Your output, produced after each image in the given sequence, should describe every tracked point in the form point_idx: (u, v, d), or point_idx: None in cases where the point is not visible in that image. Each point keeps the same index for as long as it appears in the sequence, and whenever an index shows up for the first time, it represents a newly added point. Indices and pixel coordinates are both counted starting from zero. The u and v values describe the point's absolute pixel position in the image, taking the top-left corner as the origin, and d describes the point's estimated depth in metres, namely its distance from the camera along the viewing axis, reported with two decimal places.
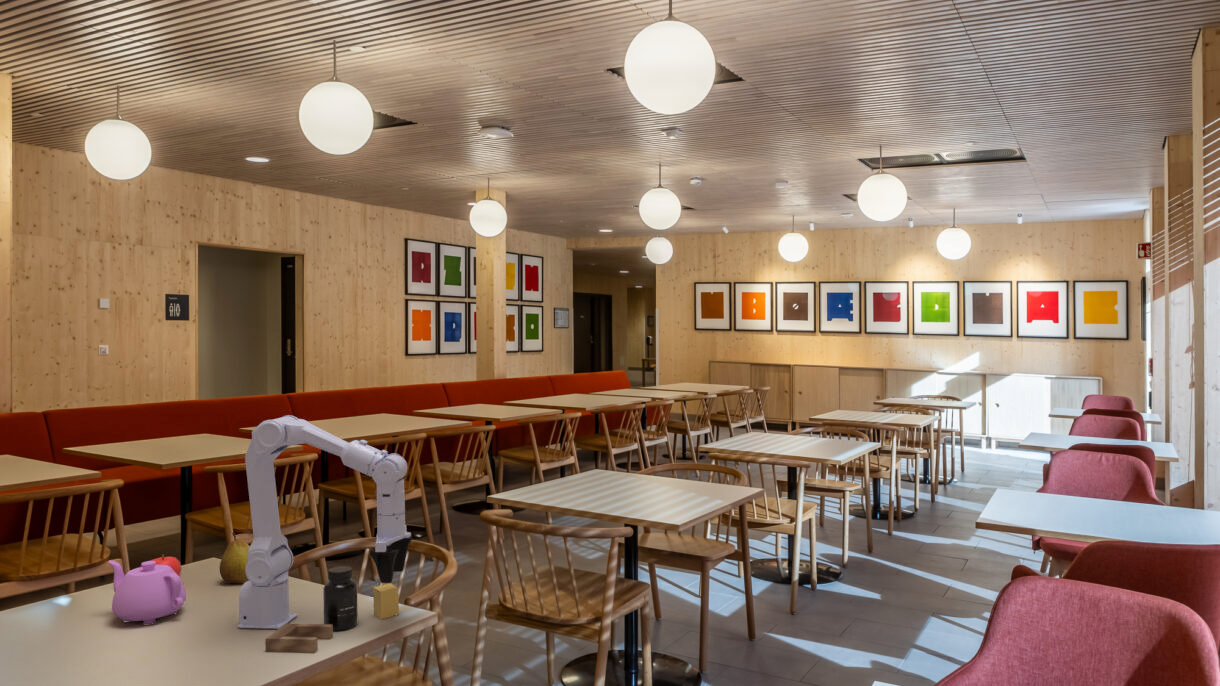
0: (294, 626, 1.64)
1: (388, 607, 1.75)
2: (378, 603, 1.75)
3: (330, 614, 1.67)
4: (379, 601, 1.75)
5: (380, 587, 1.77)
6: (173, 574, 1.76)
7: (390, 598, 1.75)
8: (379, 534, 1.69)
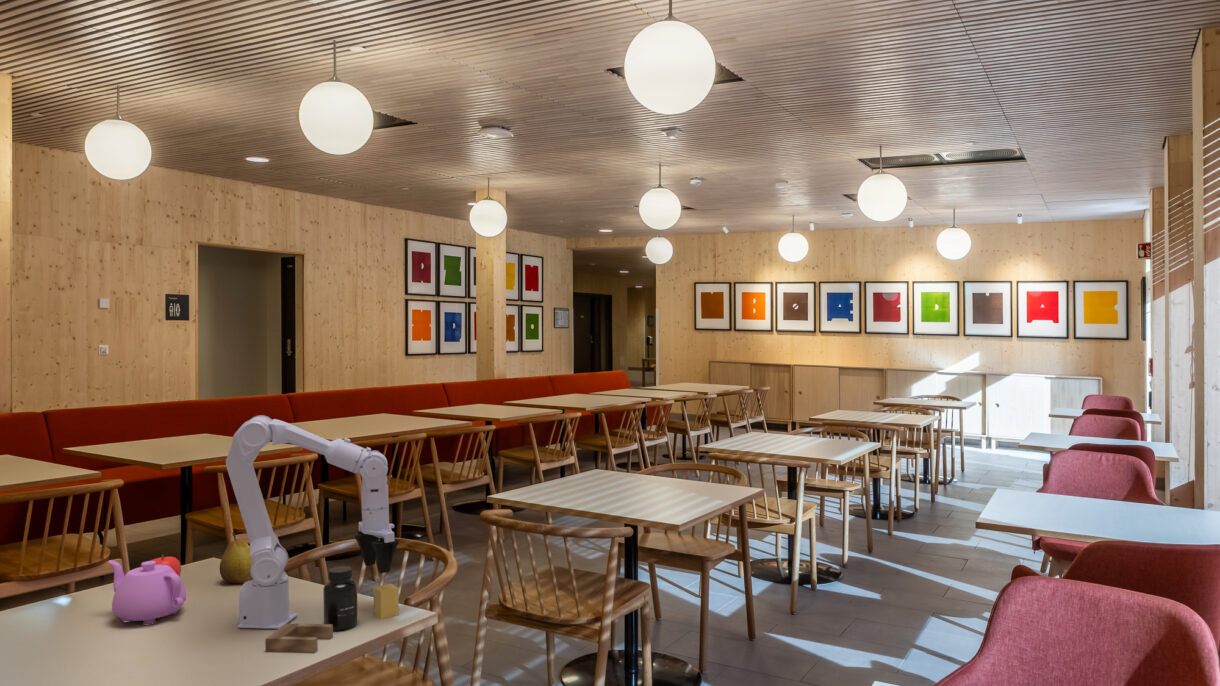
0: (294, 626, 1.64)
1: (388, 607, 1.75)
2: (378, 603, 1.75)
3: (330, 614, 1.67)
4: (379, 601, 1.75)
5: (380, 587, 1.77)
6: (173, 574, 1.76)
7: (390, 598, 1.75)
8: (372, 528, 1.76)
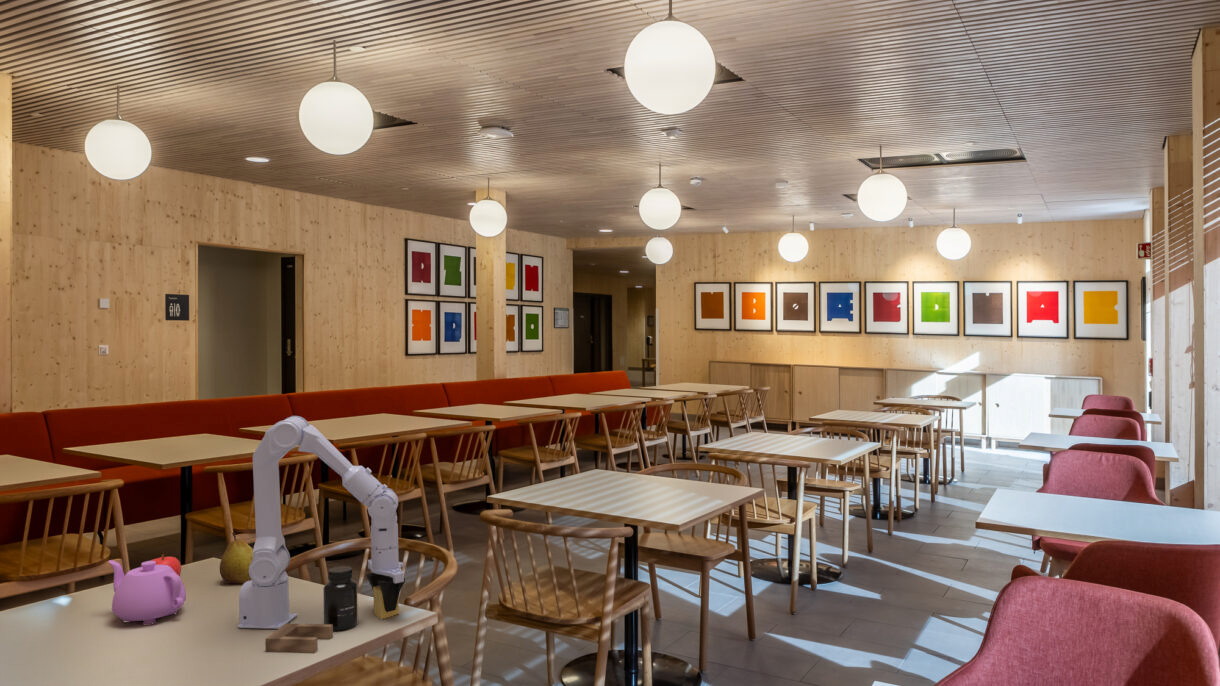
0: (294, 626, 1.64)
1: None
2: (378, 603, 1.75)
3: (330, 614, 1.67)
4: (379, 601, 1.75)
5: None
6: (173, 574, 1.76)
7: None
8: (381, 568, 1.74)
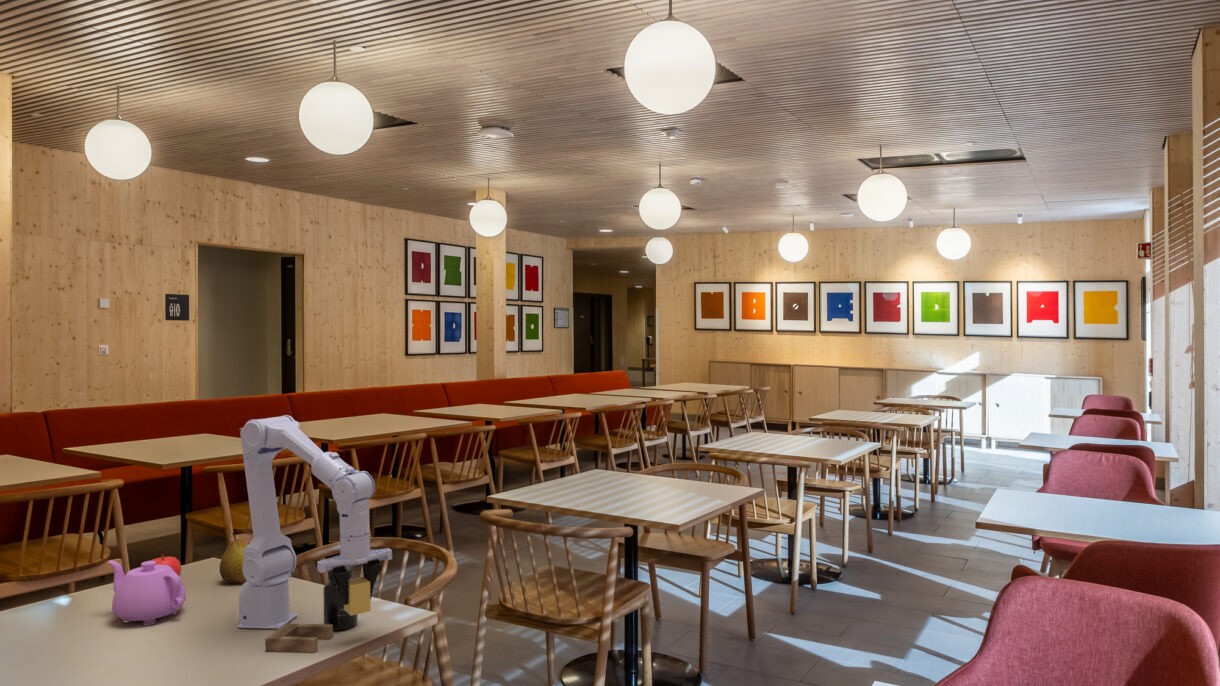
0: (294, 626, 1.64)
1: None
2: None
3: (330, 614, 1.67)
4: None
5: (358, 579, 1.63)
6: (173, 574, 1.76)
7: None
8: None
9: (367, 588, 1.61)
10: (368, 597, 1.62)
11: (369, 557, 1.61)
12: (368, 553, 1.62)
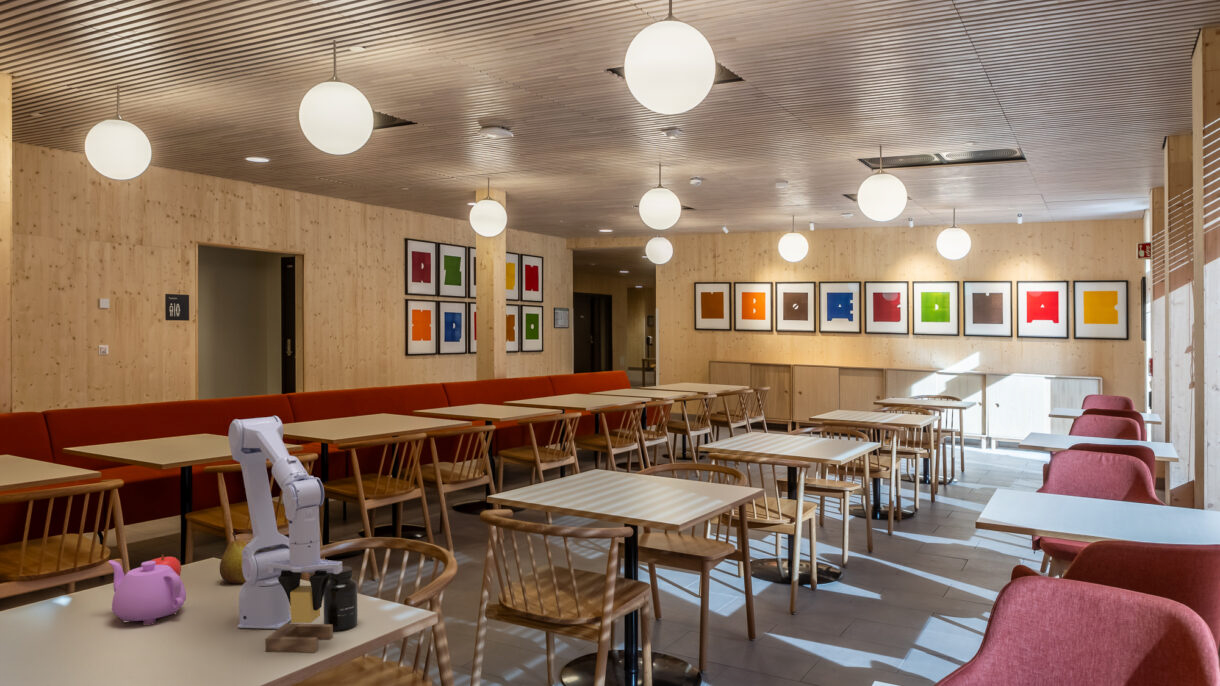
0: (294, 626, 1.64)
1: None
2: None
3: (330, 614, 1.67)
4: None
5: (310, 587, 1.61)
6: (173, 574, 1.76)
7: None
8: None
9: (307, 599, 1.58)
10: (308, 608, 1.58)
11: (308, 567, 1.58)
12: (309, 563, 1.58)
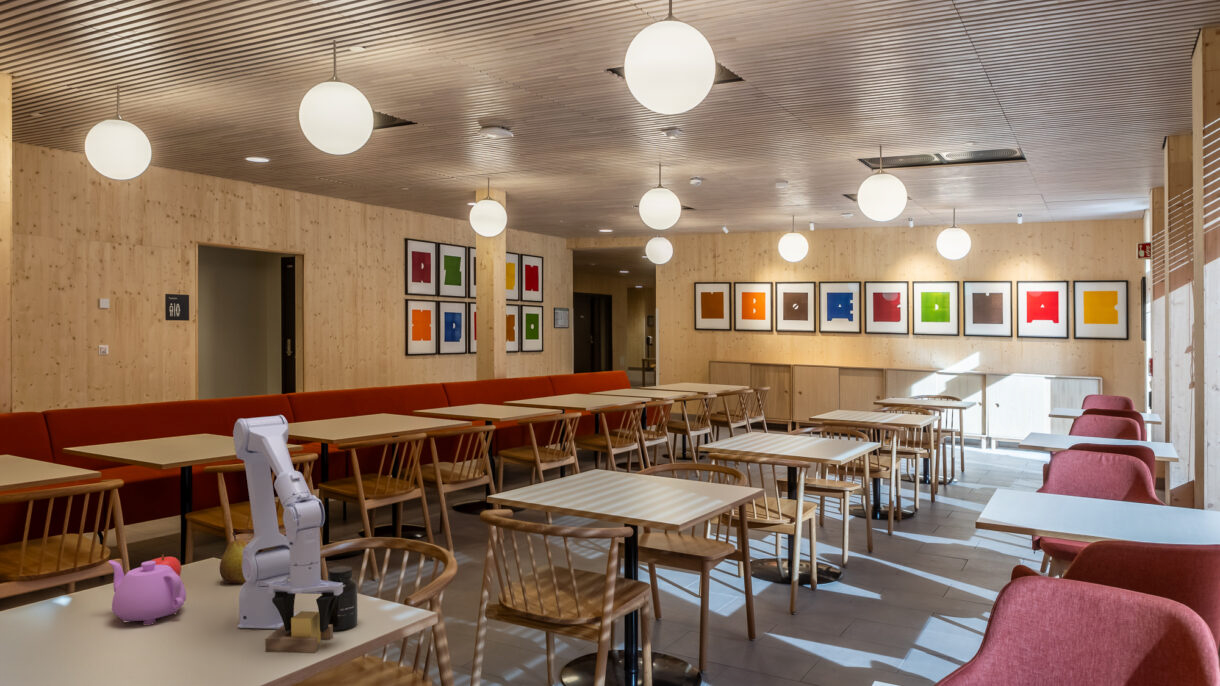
0: None
1: None
2: None
3: None
4: None
5: (311, 613, 1.61)
6: (173, 574, 1.76)
7: None
8: None
9: (308, 625, 1.58)
10: (309, 634, 1.58)
11: (309, 588, 1.58)
12: (310, 584, 1.58)
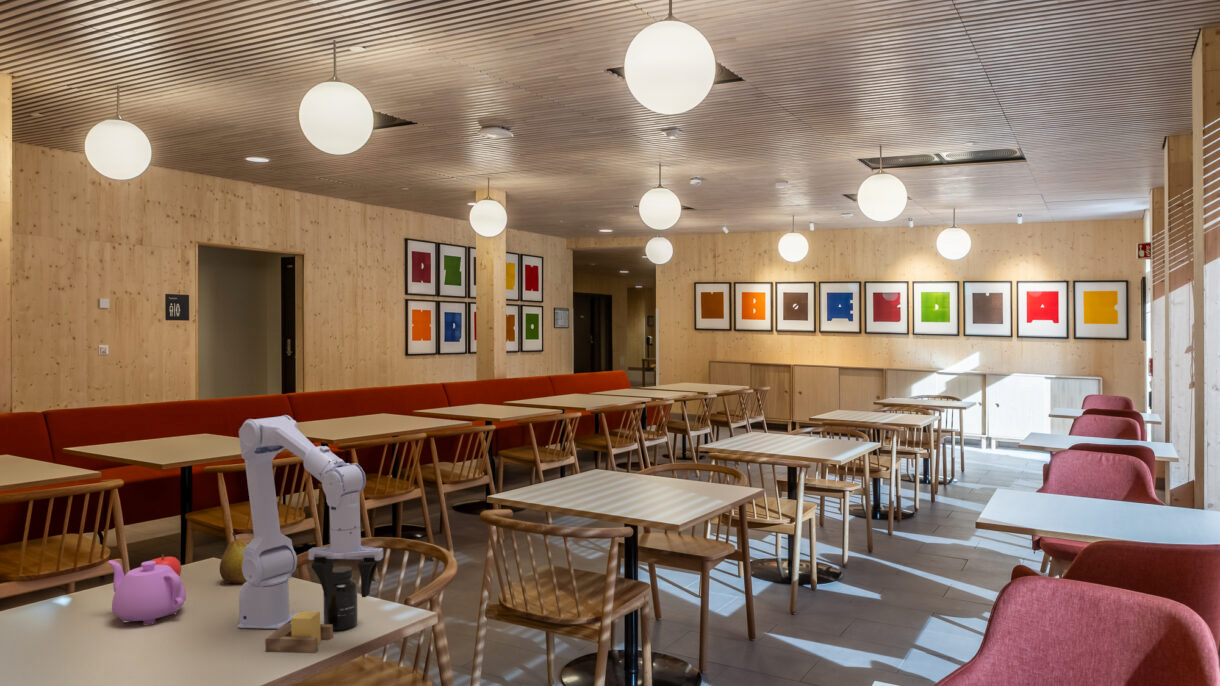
0: None
1: None
2: None
3: (330, 614, 1.67)
4: None
5: (311, 613, 1.61)
6: (173, 574, 1.76)
7: None
8: None
9: (308, 625, 1.58)
10: (309, 634, 1.58)
11: (350, 553, 1.57)
12: (350, 549, 1.57)
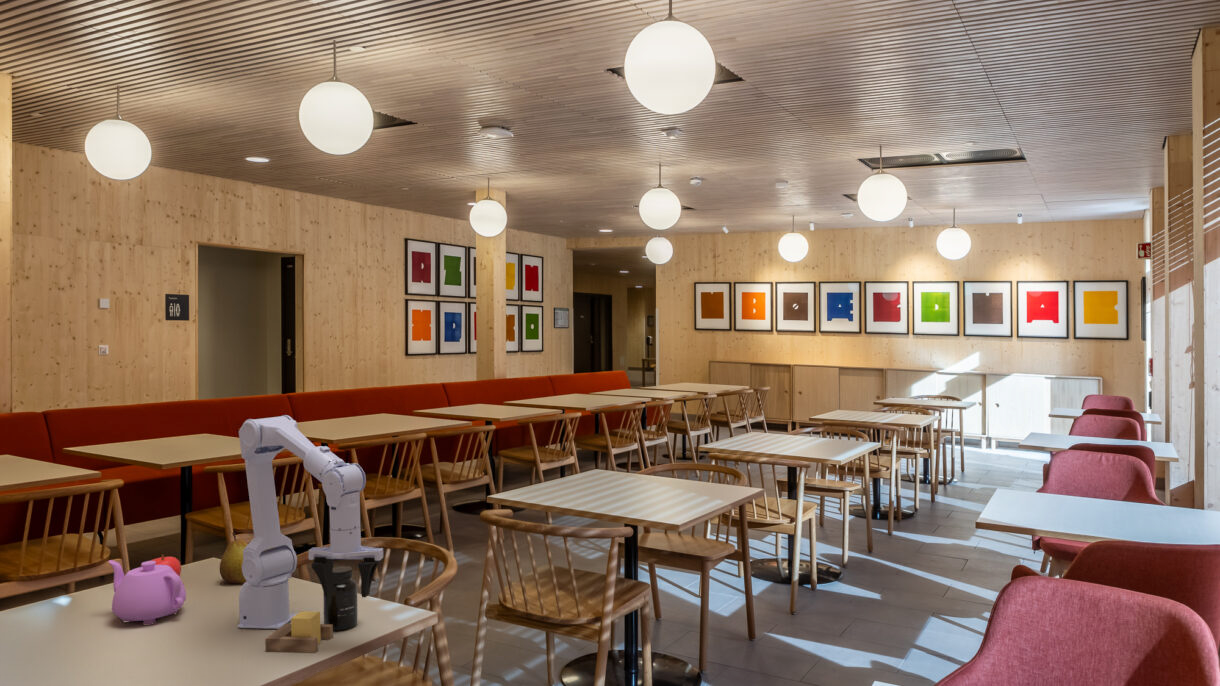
0: None
1: None
2: None
3: (330, 614, 1.67)
4: None
5: (311, 613, 1.61)
6: (173, 574, 1.76)
7: None
8: None
9: (308, 625, 1.58)
10: (309, 634, 1.58)
11: (350, 553, 1.57)
12: (350, 549, 1.57)
